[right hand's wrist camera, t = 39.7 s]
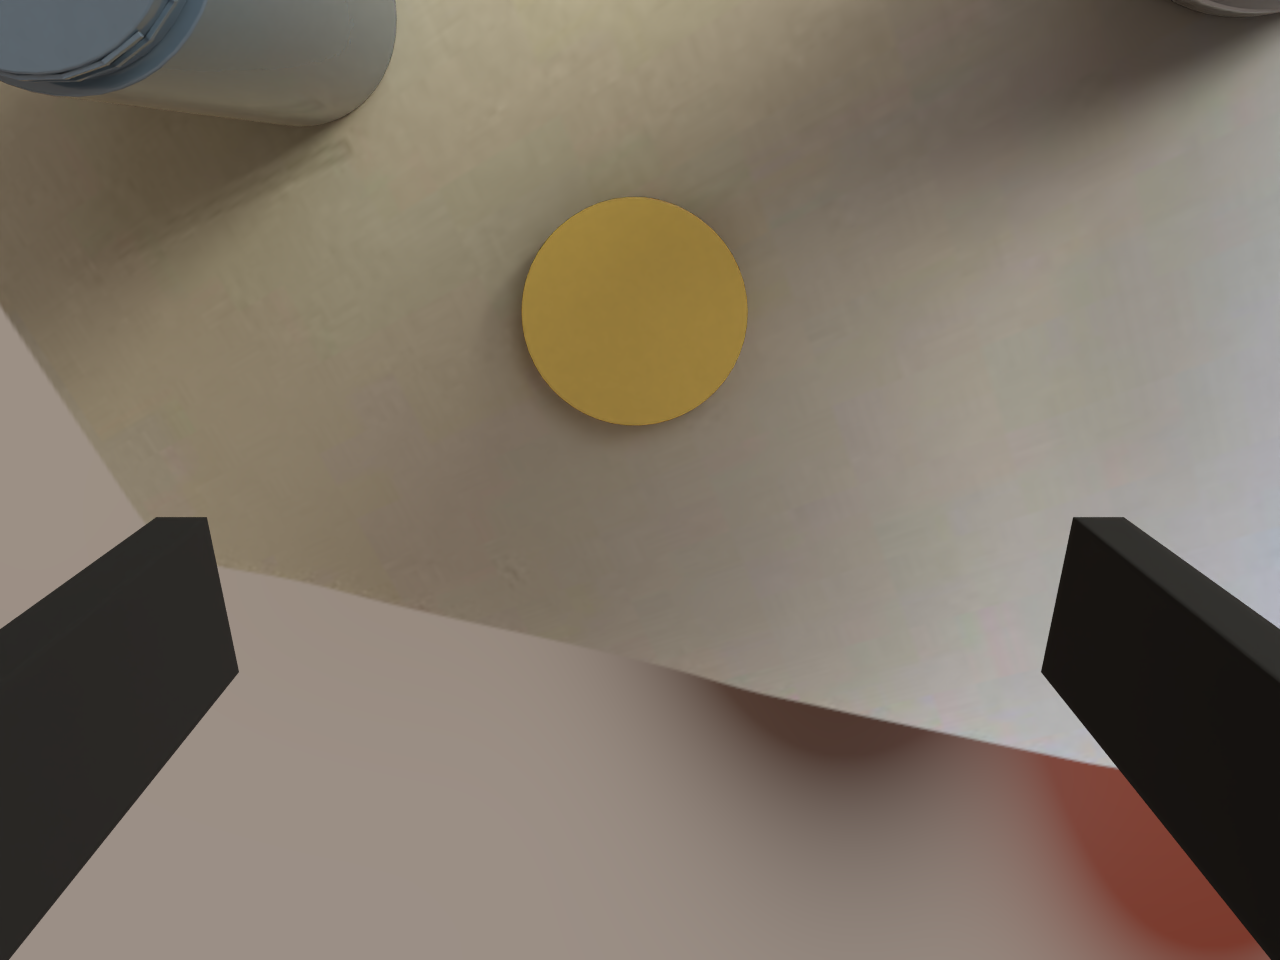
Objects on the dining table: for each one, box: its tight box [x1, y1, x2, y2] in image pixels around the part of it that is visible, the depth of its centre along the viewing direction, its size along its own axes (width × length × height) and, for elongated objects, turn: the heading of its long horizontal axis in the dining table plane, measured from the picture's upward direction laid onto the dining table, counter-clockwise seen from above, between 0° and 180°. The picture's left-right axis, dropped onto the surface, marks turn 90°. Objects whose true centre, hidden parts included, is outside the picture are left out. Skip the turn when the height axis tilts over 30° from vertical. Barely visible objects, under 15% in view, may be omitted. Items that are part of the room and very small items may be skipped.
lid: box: [521, 197, 748, 425], centre depth 38 cm, size 10×10×2 cm
